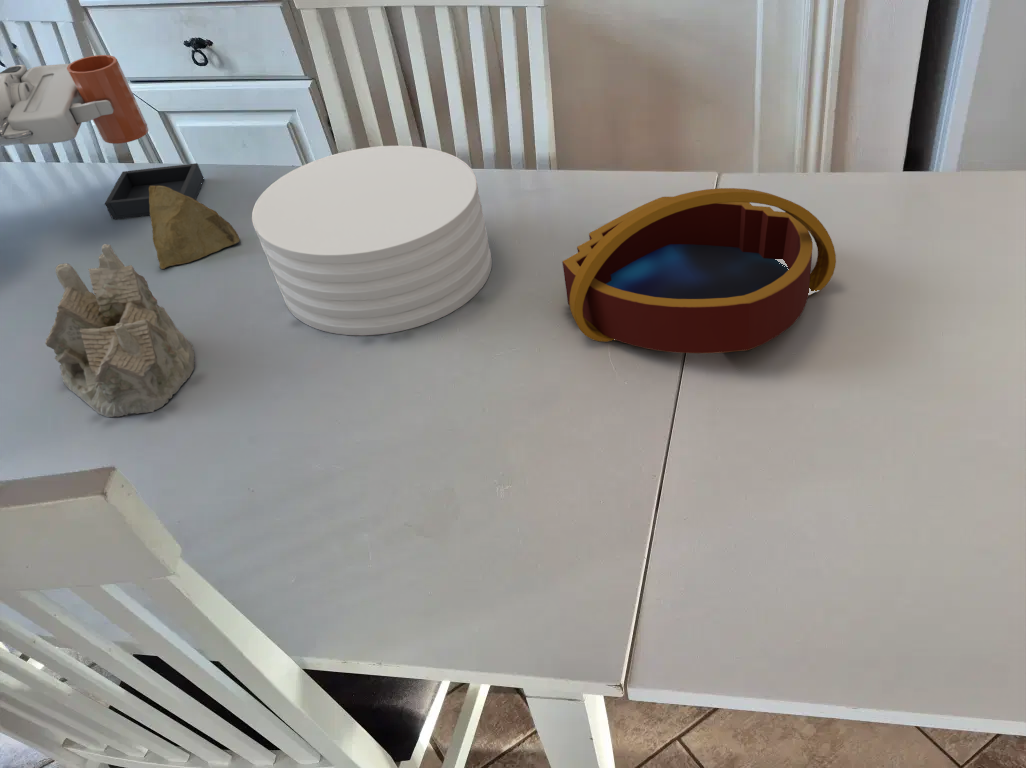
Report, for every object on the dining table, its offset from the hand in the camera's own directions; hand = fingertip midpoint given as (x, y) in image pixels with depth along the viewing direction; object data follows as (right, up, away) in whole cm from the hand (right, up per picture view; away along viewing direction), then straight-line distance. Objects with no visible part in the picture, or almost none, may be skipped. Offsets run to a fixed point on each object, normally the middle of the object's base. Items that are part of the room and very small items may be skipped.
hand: (116, 94), depth 121 cm
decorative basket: (+83, -34, -14) cm, 91 cm away
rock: (+13, -23, 0) cm, 26 cm away
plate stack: (+41, -27, -6) cm, 50 cm away
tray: (0, -11, +12) cm, 16 cm away
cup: (-1, -4, +4) cm, 6 cm away
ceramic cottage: (+13, -43, -19) cm, 49 cm away
